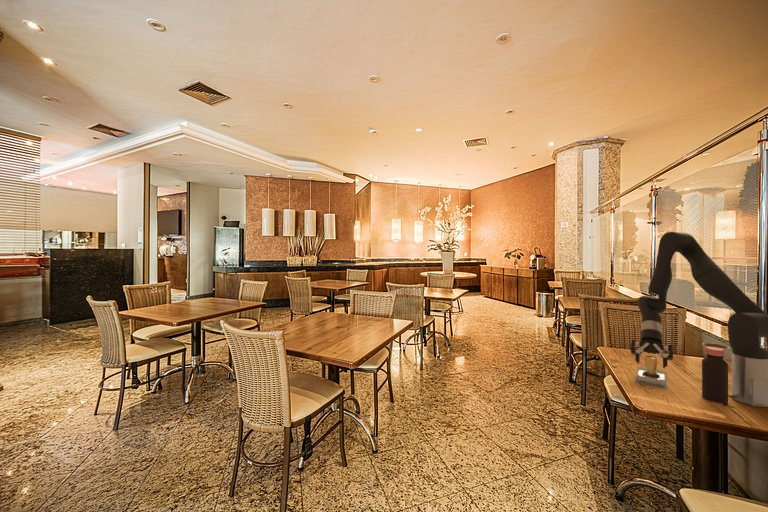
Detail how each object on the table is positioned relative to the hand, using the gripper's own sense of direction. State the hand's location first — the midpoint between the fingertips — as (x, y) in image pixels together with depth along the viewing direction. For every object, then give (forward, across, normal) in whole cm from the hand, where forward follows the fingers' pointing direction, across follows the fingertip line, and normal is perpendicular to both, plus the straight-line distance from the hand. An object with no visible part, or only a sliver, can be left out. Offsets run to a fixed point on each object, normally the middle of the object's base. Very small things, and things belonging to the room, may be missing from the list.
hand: (651, 364), depth 138 cm
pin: (+6, 0, +3) cm, 7 cm away
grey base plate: (+3, 0, +8) cm, 8 cm away
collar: (+6, 0, +3) cm, 7 cm away
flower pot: (-29, +24, +40) cm, 55 cm away
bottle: (+12, +18, -1) cm, 22 cm away
